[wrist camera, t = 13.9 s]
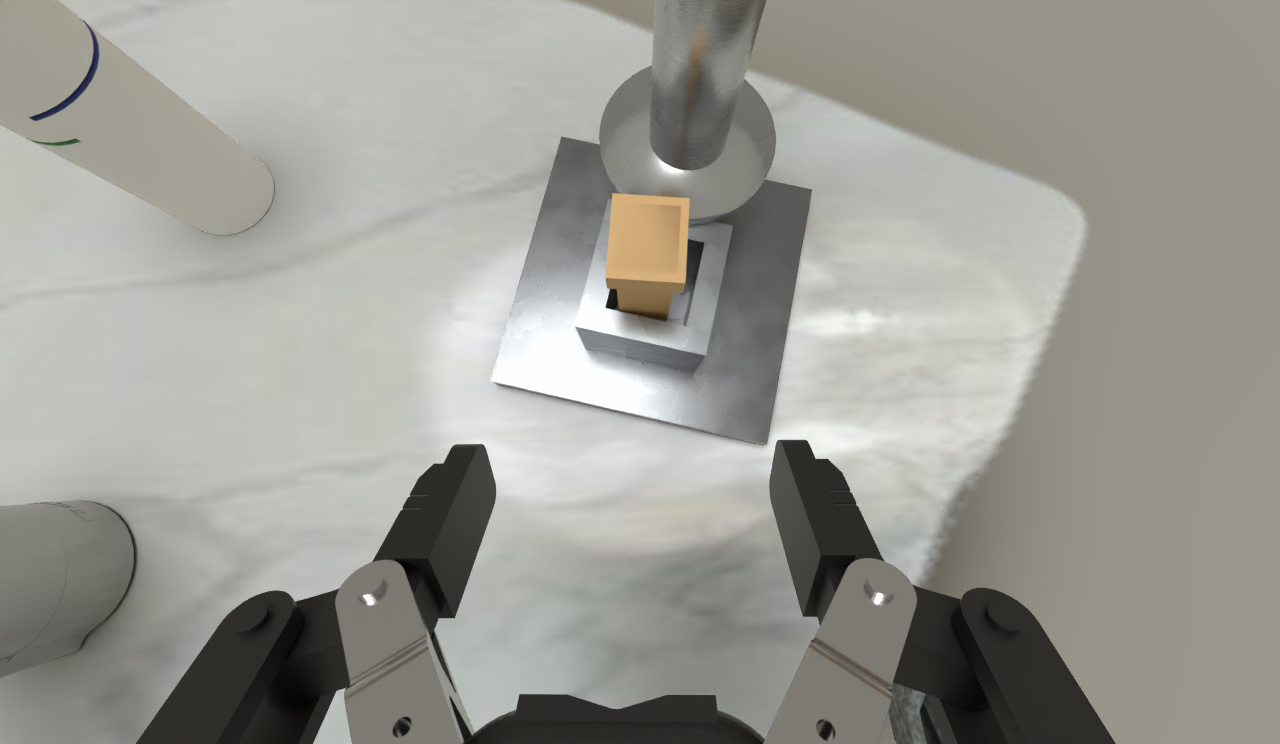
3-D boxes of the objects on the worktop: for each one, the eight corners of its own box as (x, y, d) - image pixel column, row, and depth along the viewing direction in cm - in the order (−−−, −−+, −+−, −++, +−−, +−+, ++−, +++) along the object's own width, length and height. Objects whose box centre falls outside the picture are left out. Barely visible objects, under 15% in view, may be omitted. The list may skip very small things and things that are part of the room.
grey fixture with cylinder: (761, 444, 34) (1452, 366, 5) (496, 384, 35) (-186, 15, 6) (810, 172, 38) (1353, -719, 9) (572, 122, 39) (387, -858, 10)
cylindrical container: (288, 208, 37) (-380, -276, 13) (203, 251, 37) (-681, -174, 12) (253, 139, 38) (-426, -431, 14) (169, 179, 38) (-705, -346, 13)
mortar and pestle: (884, 566, 33) (1023, 626, 21) (1011, 634, 32) (1229, 734, 20) (819, 726, 31) (933, 890, 19) (953, 802, 30) (1156, 1020, 18)
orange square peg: (668, 344, 34) (685, 283, 22) (615, 340, 34) (605, 277, 22) (671, 286, 35) (689, 198, 23) (620, 283, 35) (612, 193, 23)
